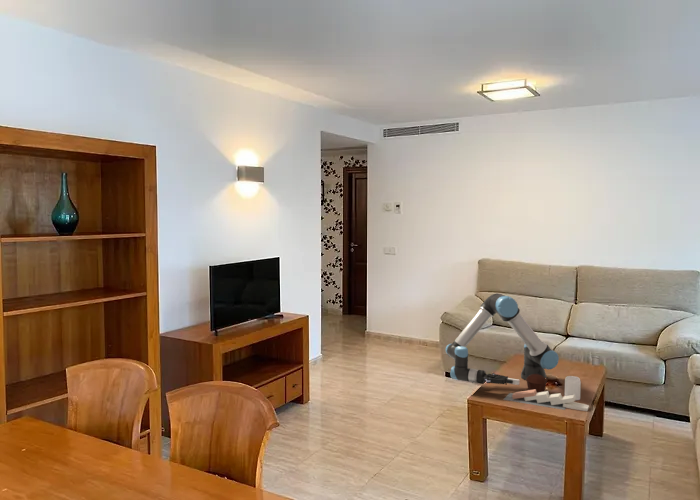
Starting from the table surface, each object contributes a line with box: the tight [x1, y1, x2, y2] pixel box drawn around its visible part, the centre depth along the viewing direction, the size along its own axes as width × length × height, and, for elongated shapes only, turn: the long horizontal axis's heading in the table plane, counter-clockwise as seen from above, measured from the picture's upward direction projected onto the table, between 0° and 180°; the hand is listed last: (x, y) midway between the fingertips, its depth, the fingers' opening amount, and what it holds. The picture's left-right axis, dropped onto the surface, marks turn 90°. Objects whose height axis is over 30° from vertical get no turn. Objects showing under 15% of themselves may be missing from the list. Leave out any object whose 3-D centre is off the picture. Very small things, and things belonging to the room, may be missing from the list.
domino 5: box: [563, 401, 590, 412], centre depth 290 cm, size 2×6×12 cm
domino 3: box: [536, 392, 563, 403], centre depth 297 cm, size 2×6×12 cm
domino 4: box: [550, 395, 576, 405], centre depth 293 cm, size 2×6×12 cm
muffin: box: [525, 374, 548, 393], centre depth 317 cm, size 12×11×10 cm
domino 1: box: [512, 389, 537, 399], centre depth 303 cm, size 2×6×12 cm
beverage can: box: [564, 375, 582, 401], centre depth 305 cm, size 8×8×12 cm
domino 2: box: [524, 390, 550, 401], centre depth 300 cm, size 2×6×12 cm
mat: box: [503, 392, 567, 411], centre depth 300 cm, size 13×32×1 cm, turn 60°
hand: (519, 382), depth 304 cm, fingers closed
